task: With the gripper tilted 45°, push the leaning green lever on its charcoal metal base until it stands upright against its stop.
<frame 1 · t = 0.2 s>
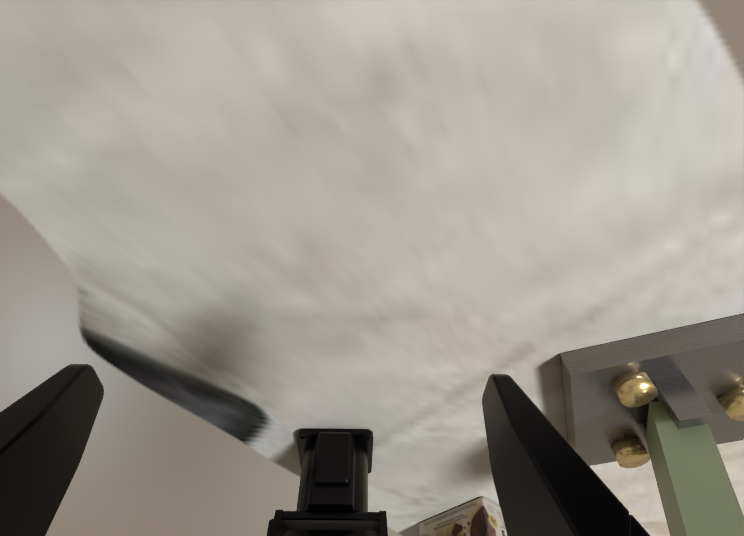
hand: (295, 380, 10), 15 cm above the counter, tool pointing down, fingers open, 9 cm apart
coffee box: (464, 516, 47), on the counter
green lever: (698, 508, 27), point 9 cm above the counter, hinge at -15.0°
instrument base: (649, 388, 33), on the counter
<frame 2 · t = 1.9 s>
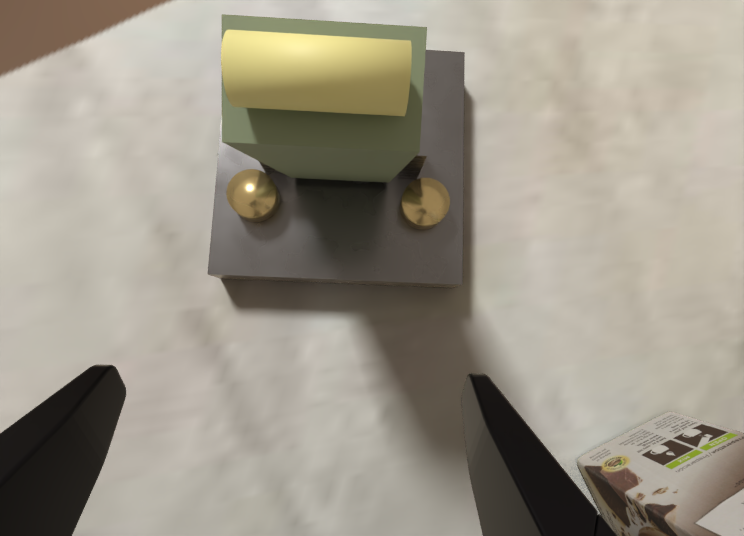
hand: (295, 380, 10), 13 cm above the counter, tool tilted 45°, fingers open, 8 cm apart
coffee box: (657, 511, 23), on the counter
green lever: (334, 126, 15), point 9 cm above the counter, hinge at -15.0°
instrument base: (343, 171, 24), on the counter
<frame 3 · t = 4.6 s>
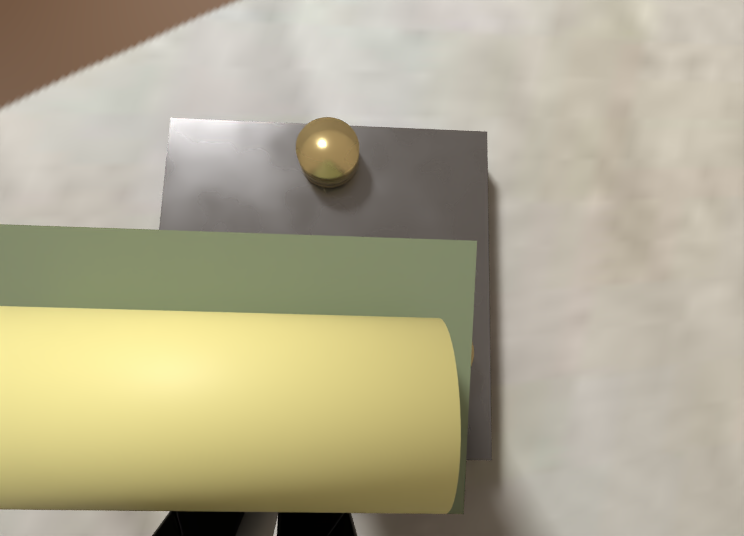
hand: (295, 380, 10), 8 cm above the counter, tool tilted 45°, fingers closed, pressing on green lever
green lever: (300, 303, 9), point 9 cm above the counter, hinge at -11.9°, touching gripper
instrument base: (327, 286, 18), on the counter
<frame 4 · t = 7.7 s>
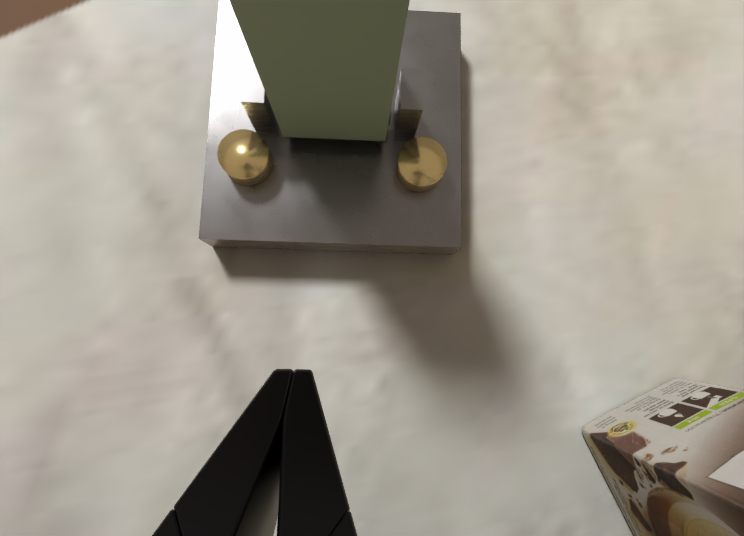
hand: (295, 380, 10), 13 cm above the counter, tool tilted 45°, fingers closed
coffee box: (665, 481, 22), on the counter
green lever: (327, 26, 15), point 9 cm above the counter, hinge at -1.1°
instrument base: (338, 137, 24), on the counter
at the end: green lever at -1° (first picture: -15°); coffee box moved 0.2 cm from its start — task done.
